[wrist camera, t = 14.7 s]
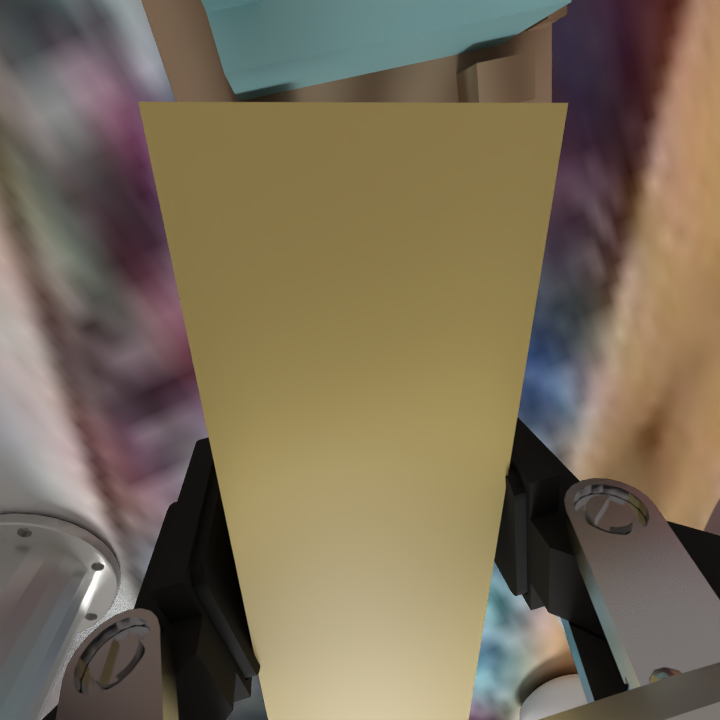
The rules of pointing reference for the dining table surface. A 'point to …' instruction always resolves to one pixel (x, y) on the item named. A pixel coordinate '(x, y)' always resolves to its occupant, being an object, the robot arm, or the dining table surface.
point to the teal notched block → (353, 36)
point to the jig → (401, 84)
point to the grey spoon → (553, 698)
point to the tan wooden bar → (359, 373)
